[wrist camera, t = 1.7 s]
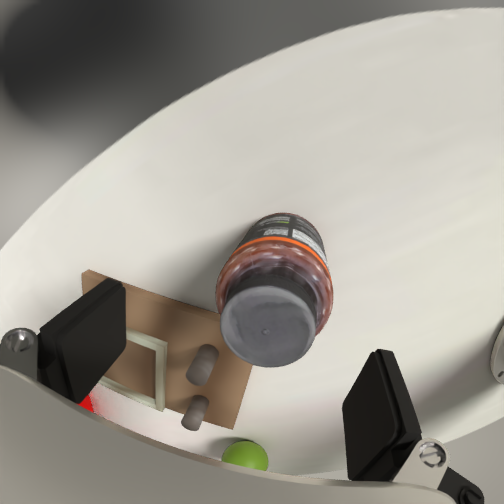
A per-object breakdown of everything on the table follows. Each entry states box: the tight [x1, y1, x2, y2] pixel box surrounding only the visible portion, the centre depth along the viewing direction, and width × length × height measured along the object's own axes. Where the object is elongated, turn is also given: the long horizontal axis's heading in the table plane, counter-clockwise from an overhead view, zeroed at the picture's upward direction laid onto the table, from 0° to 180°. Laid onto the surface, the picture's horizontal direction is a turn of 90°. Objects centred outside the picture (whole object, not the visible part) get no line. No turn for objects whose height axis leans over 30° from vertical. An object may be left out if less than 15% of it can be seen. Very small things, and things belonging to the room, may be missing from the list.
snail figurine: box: [222, 441, 268, 471], centre depth 25 cm, size 5×6×12 cm
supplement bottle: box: [216, 213, 333, 367], centre depth 17 cm, size 6×6×11 cm
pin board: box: [82, 270, 253, 431], centre depth 25 cm, size 18×14×5 cm
